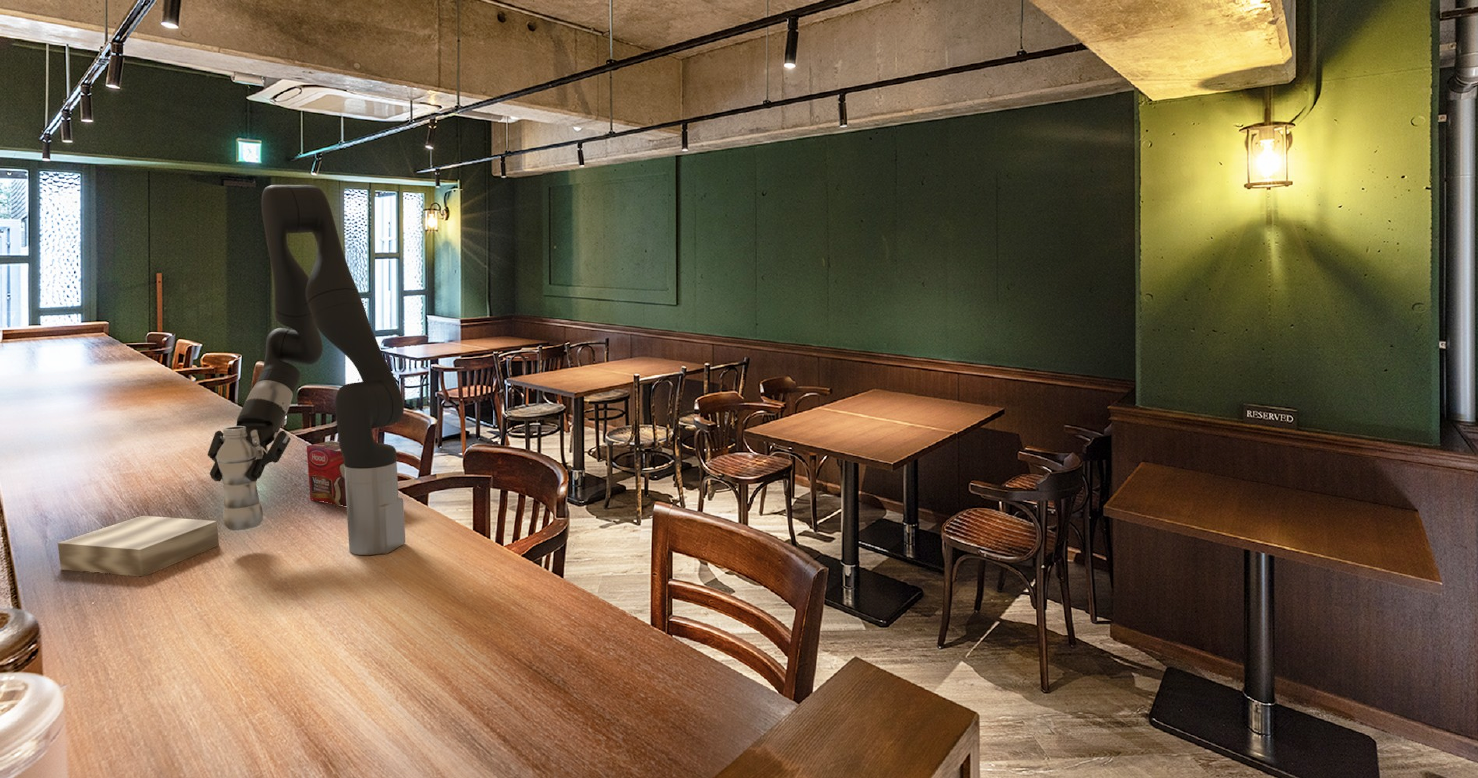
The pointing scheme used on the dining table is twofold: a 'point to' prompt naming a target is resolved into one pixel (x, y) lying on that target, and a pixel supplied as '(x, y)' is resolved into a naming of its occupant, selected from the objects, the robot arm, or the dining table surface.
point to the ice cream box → (326, 473)
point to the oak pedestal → (138, 545)
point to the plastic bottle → (238, 481)
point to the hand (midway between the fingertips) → (233, 479)
